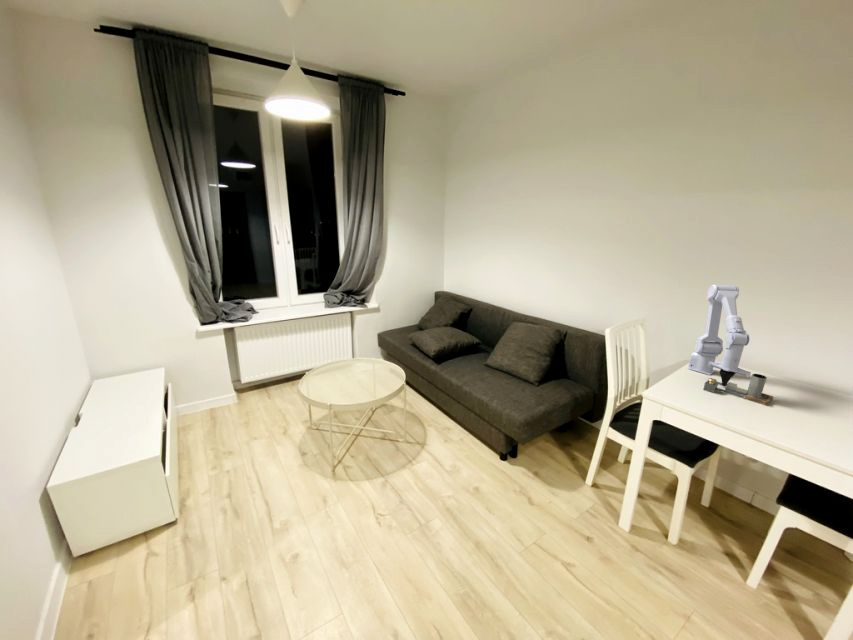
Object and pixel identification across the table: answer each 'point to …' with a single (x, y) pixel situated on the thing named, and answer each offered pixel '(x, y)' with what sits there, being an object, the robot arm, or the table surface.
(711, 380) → the brass knob
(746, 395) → the frame
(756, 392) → the planter
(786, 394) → the table surface
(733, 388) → the grey notched block
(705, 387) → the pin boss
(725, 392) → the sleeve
